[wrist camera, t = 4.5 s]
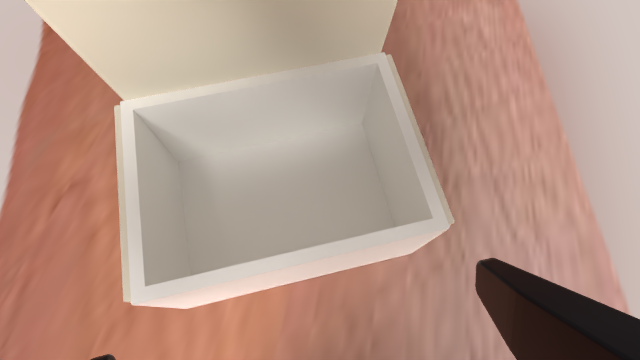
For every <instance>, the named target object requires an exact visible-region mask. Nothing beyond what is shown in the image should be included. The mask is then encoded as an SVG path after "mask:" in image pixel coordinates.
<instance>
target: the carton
mask: <svg viewBox="0 0 640 360" xmlns="http://www.w3.org/2000/svg"><path fill="white" fill-rule="evenodd" d="M114 112H115V134H116V155H117V176H118V197H119V218H120V240H121V261H122V282H123V302H131V305H140V306H154V307H168V308H182V309H188V308H192V307H196V306H200V305H205V304H209V303H213V302H217V301H221V300H225V299H229V298H233V297H237V296H241V295H245V294H249V293H253V292H257V291H261V290H266V289H270V288H274V287H278V286H282V285H286V284H290V283H294V282H298V281H302V280H306V279H310V278H314V277H318V276H322V275H327V274H331V273H335V272H339V271H343V270H347V269H351V268H355V267H359V266H363V265H367V264H371V263H375V262H379V261H383V260H388V259H392V258H396V257H400V256H404V255H408V254H411V253H413V252H414V251H416V250H417V249H419V248H421V247H422V246H424V245H425V244H427V243H428V242H430V241H431V240H433V239H434V238H436V237H437V236H439V235H440V234H442V233H443V232H445V231H446V230H448V229H449V228H450V225H451V224H453V223H454V222H455V221H454V219H453V216H452V213H451V211H450V208H449V205H448V203H447V200H446V198H445V195H444V192H443V190H442V187H441V184H440V182H439V179H438V177H437V174H436V171H435V169H434V166H433V163H432V161H431V158H430V155H429V153H428V150H427V148H426V145H425V142H424V140H423V137H422V134H421V132H420V129H419V127H418V124H417V121H416V119H415V116H414V113H413V111H412V108H411V106H410V103H409V100H408V98H407V95H406V92H405V90H404V87H403V84H402V82H401V79H400V77H399V74H398V71H397V69H396V66H395V63H394V61H393V58H392V56H391V54H388V55H385V52H382V53H377V54H371V55H366V56H361V57H355V58H350V59H345V60H339V61H334V62H329V63H323V64H318V65H313V66H307V67H302V68H297V69H291V70H286V71H281V72H275V73H270V74H265V75H259V76H254V77H249V78H243V79H238V80H233V81H227V82H222V83H217V84H211V85H206V86H201V87H195V88H190V89H185V90H179V91H174V92H169V93H163V94H158V95H153V96H147V97H142V98H137V99H131V100H126V101H121V102H120V105H117V106H114Z"/></svg>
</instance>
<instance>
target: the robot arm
mask: <svg viewBox="0 0 640 360" xmlns="http://www.w3.org/2000/svg"><path fill="white" fill-rule="evenodd" d="M475 286H476V291H477V294H478V296H479V298H480V299H481V301H482V303H483V305H484V306H485V308H486V310H487V311H488V313H489V315H490V317H491V318H492V320H493V322H494V324H495V325H496V327H497V329H498V330H499V332H500V334H501V336H502V337H503V339H504V341H505V342H506V344H507V346H508V347H509V349H510V351H511V352H512V353H513V355H514V356H515V358H516V359H517V360H640V319H638V318H635V317H633V316H630V315H628V314H626V313H623V312H621V311H619V310H616V309H614V308H612V307H609V306H607V305H604V304H602V303H600V302H597V301H595V300H593V299H590V298H588V297H586V296H583V295H581V294H578V293H576V292H574V291H571V290H569V289H567V288H564V287H562V286H560V285H557V284H555V283H552V282H550V281H548V280H545V279H543V278H541V277H538V276H536V275H534V274H531V273H529V272H526V271H524V270H522V269H519V268H517V267H515V266H512V265H510V264H507V263H505V262H503V261H500V260H498V259H495V258H489V259H485V260H481V261H479V262H478V263H477V265H476V284H475ZM91 360H116V359H115V358H114V356H112V355H111V354H107V355H103V356H99V357H95V358H93V359H91Z"/></svg>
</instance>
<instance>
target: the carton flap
mask: <svg viewBox="0 0 640 360" xmlns="http://www.w3.org/2000/svg"><path fill="white" fill-rule="evenodd" d="M24 1H25V2H27V4H28V5H29V6H30V7H31V8H33V10H35V12H36V13H37V14H38V15H39V16H40V17H41V18H42V19H43V20H44V21H45V22H46V23H47V24H48V25H49V26H50V27H51V28H52V29H53V30H54V31H55V32H56V33H57V34H58V35H59V36H60V37H61V38H62V39H63V40H64V41H65V42H66V43H67V44H68V45H69V46H70V47H71V48H72V49H73V50H74V51H75V52H76V53H77V54H78V55H79V56H80V57H81V58H82V59H83V60H84V61H85V62H86V63H87V64H88V65H89V66H90V67H91V68H92V69H93V70H94V71H95V72H96V73H97V74H98V75H99V76H100V77H101V78H102V79H103V80H104V81H105V82H106V83H107V84H108V85H109V86H110V87H111V88H112V89H113V90H114V91H115V92H116V93H117V94H118V95H119V96H120V97H121V98H122V99H123V100H124V101H125V100H131V99H136V98H141V97H147V96H152V95H157V94H163V93H168V92H173V91H179V90H184V89H189V88H195V87H200V86H205V85H211V84H216V83H221V82H227V81H232V80H237V79H243V78H248V77H253V76H259V75H264V74H270V73H275V72H280V71H286V70H291V69H296V68H302V67H307V66H312V65H318V64H323V63H328V62H334V61H339V60H344V59H350V58H355V57H360V56H366V55H371V54H376V53H381V51H382V48H383V45H384V42H385V39H386V36H387V32H388V29H389V26H390V23H391V20H392V17H393V14H394V11H395V8H396V5H397V1H398V0H24Z"/></svg>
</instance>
